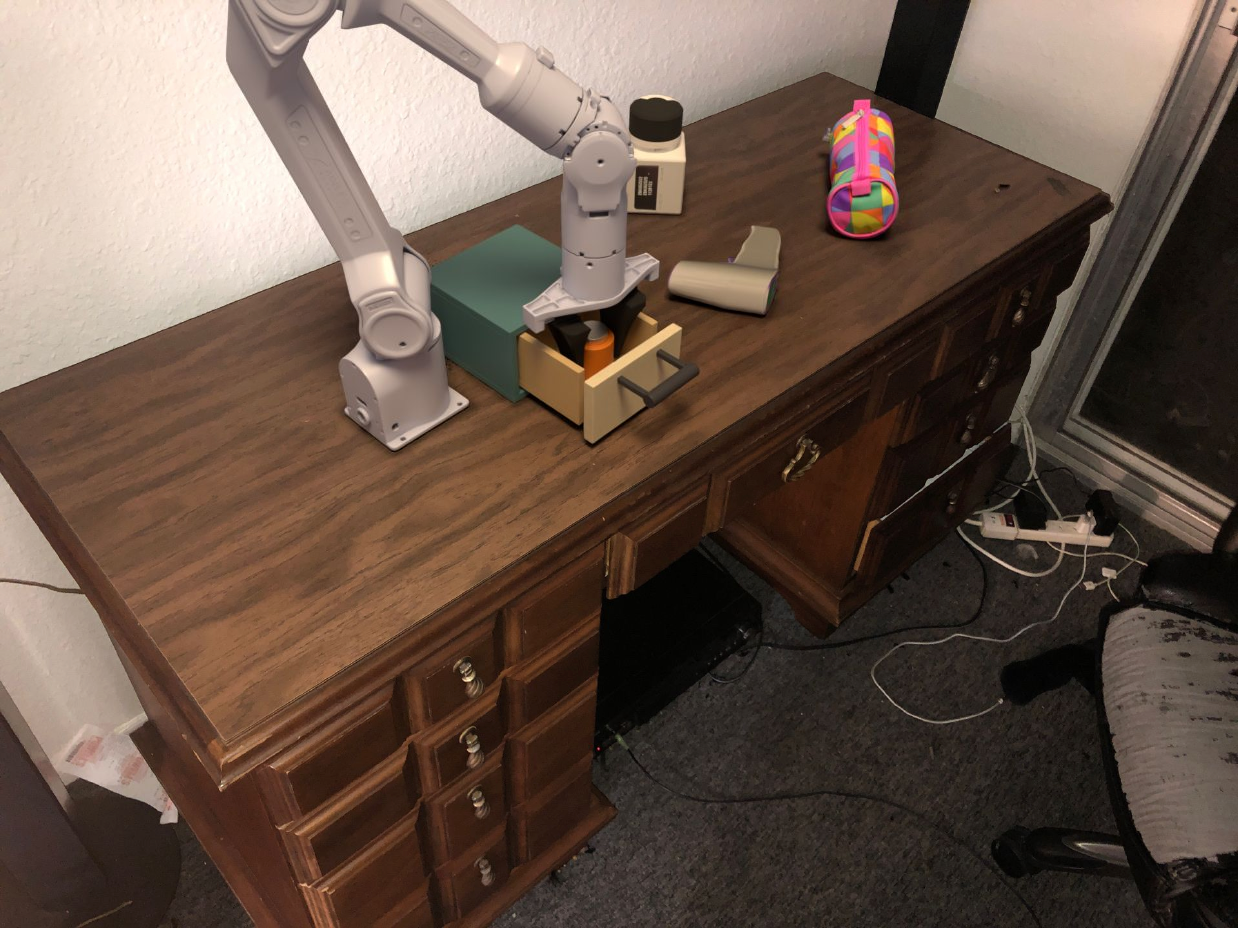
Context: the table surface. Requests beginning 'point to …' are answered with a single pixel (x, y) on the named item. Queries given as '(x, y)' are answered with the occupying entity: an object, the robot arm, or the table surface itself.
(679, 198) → the container
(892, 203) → the pencil case
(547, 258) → the cabinet
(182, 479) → the table surface
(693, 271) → the infrared thermometer
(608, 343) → the orange cylinder
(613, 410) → the drawer
